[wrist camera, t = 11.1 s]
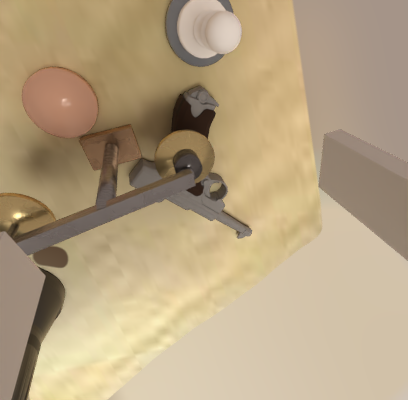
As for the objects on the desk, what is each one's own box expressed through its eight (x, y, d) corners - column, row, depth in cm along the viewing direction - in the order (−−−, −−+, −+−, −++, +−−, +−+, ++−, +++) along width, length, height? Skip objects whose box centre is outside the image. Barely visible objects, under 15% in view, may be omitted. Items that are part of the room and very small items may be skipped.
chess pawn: (189, 65, 28) (210, 83, 21) (167, 12, 25) (183, 12, 18) (231, 42, 27) (267, 53, 20) (214, -15, 24) (250, -25, 17)
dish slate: (174, 71, 29) (175, 73, 28) (156, -9, 25) (158, -10, 24) (234, 57, 29) (237, 58, 28) (227, -24, 25) (231, -25, 24)
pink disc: (48, 140, 30) (45, 144, 29) (10, 75, 26) (6, 78, 25) (108, 125, 30) (107, 129, 30) (81, 59, 26) (79, 61, 25)
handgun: (297, 175, 43) (236, 234, 48) (190, 76, 30) (119, 171, 35) (309, 186, 40) (243, 248, 45) (197, 82, 27) (119, 184, 32)
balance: (37, 188, 33) (-17, 294, 21) (7, 146, 29) (-80, 243, 17) (200, 145, 35) (240, 218, 22) (191, 100, 31) (234, 158, 19)
